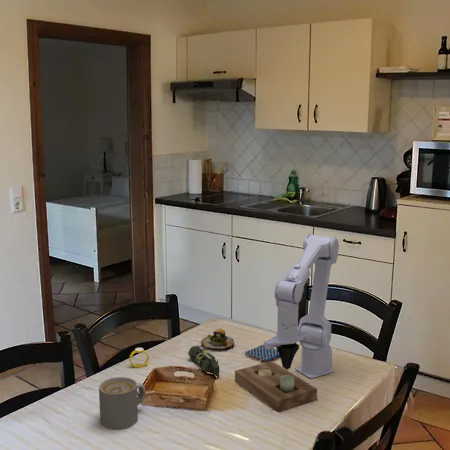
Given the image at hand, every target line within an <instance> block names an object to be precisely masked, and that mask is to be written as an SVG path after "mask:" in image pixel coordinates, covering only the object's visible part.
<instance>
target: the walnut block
mask: <svg viewBox="0 0 450 450" xmlns="http://www.w3.org/2000/svg"><path fill="white" fill-rule="evenodd" d="M261 369H268V370H270V371H271V372H272V373H271V376H269V377H266V378H262V377H260V376H259V375H258V371H259V370H261ZM282 375H291V376H293V377H294V391H292V392H283V391H281V390H280V377H281V376H282ZM234 382H235V383H236V384H238V385H239V386H241V387H242V388H243V389H244V390H245V391H247V392H249V393H250V394H251V395H252V396H254V397H256V398H257V399H258V400H260V401H261V402H262V403H264V404H265V405H266V406H267V407H269V408H271V409H272V410H273V411H274V412H275V413H280V412H284V411H286V410H287V411H288V410H290V409H294V408H297V407H299V406H303V405H307V404H308V403H312V402H314V401H317V400H318V388H316V387H315V386H313V385H311V384H310V383H309V382H307V381H305V380H304V379H302V378H300V377H299V376H297V375H296V374H294V373H293V372H291V371H289V369H285V368H283V366H281V365H279V364H278V363H276V362H275V361H270V362H266V363H262V362H261V363H260V364H259V363H258V364H255V365H252V366H248V367H244V368H240V369H237V370H234Z"/></svg>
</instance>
